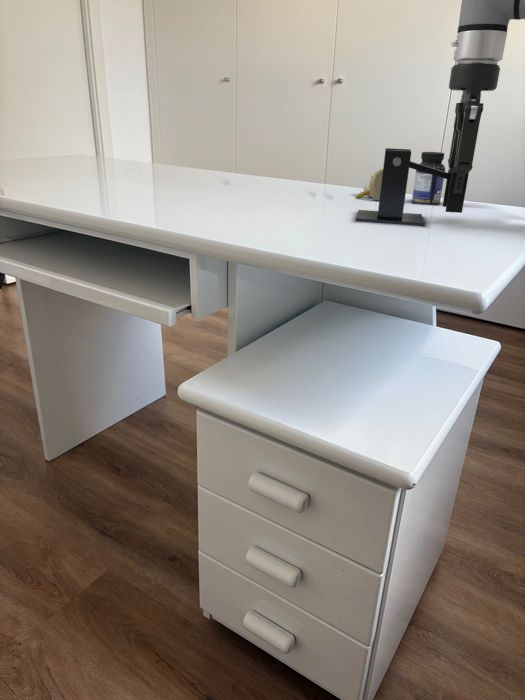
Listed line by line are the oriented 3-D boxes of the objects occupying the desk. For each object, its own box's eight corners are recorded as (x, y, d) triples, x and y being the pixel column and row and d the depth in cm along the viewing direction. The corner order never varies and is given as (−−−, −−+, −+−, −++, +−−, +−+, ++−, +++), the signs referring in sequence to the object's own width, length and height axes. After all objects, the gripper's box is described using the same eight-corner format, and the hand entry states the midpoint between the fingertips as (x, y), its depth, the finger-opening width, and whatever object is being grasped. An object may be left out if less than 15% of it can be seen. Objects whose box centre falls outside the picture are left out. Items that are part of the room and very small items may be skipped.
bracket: (420, 220, 103) (431, 149, 98) (423, 229, 95) (435, 153, 90) (357, 215, 105) (365, 146, 100) (355, 224, 97) (362, 149, 92)
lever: (456, 185, 97) (461, 171, 96) (459, 188, 93) (465, 174, 92) (386, 163, 98) (391, 150, 97) (386, 166, 94) (391, 152, 93)
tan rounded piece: (378, 196, 131) (400, 161, 123) (386, 221, 125) (409, 185, 117) (351, 188, 129) (371, 151, 121) (357, 213, 122) (379, 176, 115)
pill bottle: (432, 202, 123) (440, 151, 118) (444, 207, 118) (453, 154, 113) (406, 202, 122) (414, 151, 118) (417, 207, 117) (425, 153, 112)
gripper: (447, 67, 96) (427, 200, 105) (458, 58, 80) (434, 216, 89) (491, 67, 94) (467, 202, 104) (512, 59, 78) (481, 219, 88)
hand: (451, 208), depth 97 cm, fingers closed on lever, 5 cm apart
